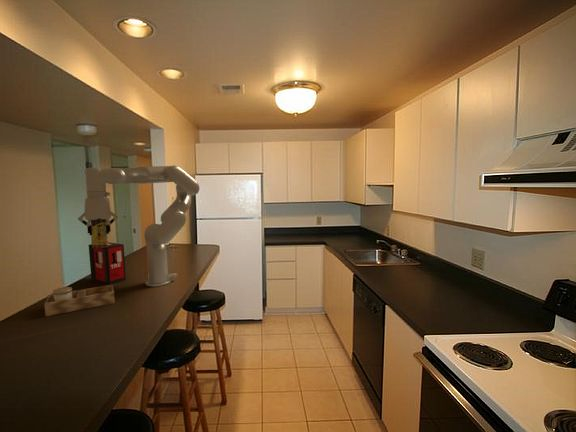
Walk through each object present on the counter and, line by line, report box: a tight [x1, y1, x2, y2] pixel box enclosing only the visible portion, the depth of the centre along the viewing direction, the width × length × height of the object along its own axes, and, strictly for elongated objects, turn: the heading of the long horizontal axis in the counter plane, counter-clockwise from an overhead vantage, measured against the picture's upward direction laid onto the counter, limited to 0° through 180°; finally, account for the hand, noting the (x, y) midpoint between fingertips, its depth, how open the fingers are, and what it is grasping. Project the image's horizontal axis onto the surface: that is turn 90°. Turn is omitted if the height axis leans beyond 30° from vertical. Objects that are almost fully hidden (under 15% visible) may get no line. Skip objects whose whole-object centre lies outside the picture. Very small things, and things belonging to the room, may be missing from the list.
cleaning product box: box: [88, 241, 127, 286], centre depth 161 cm, size 16×9×20 cm, turn 63°
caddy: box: [44, 284, 116, 317], centre depth 127 cm, size 24×11×6 cm, turn 123°
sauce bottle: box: [90, 218, 108, 249], centre depth 136 cm, size 6×6×20 cm
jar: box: [52, 286, 73, 302], centre depth 124 cm, size 6×6×8 cm
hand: (99, 233), depth 137 cm, fingers closed on sauce bottle, 6 cm apart
